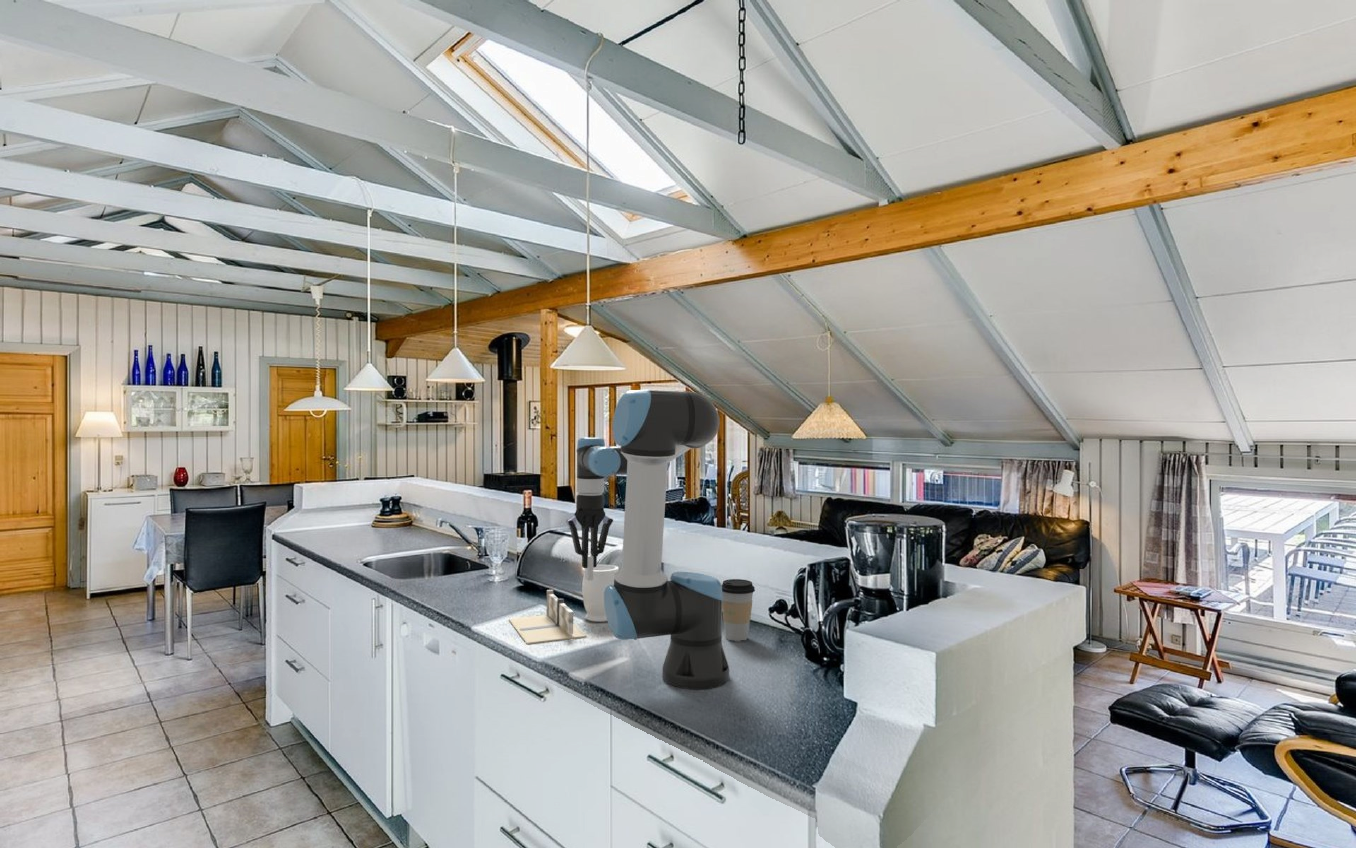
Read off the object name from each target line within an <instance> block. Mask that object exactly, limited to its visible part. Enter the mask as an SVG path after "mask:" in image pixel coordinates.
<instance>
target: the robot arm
mask: <svg viewBox="0 0 1356 848" xmlns="http://www.w3.org/2000/svg"><path fill="white" fill-rule="evenodd" d="M720 422H721V421H720V416H719V412H718V410H717V408H716V406H715V404H714V403H713V402H712V401H711V400H710V399H709V398H707V397H706V396H705V395H702V394H701V393H698V392H695V391H685V390H684V391H679V390H658V389H657V390H654V389H636V390H633V389H632V390H627V391H626V392H624V393H623V394H622V395H621V396H620V398H619V400H618V402H617V404H616V407H615V409H614V413H613V419H612V431H613V432H612V437H613V440H614V443H615V444H616V446H613V445H612V446H611V445H610V446H608V445H607V446H605V445H606V444H605V439H604V438H602V437H579V438H578V440H577V447H576V450H575V451H576V493H577V495H576V499H575V500H576V504H575V506H576V509H575V513H574V516H573V517H571V518H569V519H566V524H567V526H568V527H569V529H570V530H569V531H570V533H571V538H572V543H573V547H574V552H575V553H576V554H577V555H580V556H581V566H582V569H583V568H585V579H586V580H588V581H590V580H593V567H596V566H597V564H598V560H597V558H598V556H599V555H600V554H603V553H604V552H605V547H606V542H607V540H608V539H607V538H608V535H609V532H610V531H609V530H610V527H611V525H612V523H614V520H613V518H611V517H609V516H607V515H606V512H605V508H604V506H605V495H604V492H605V477H610V476H618V475H619V476H622V475H623V476H626V481H625V483H626V486H625V500H624V501H625V503H624V519H623V538H622V539H623V540H622V556H621V557H622V559H621V568H619V570H618V572H616V573H615V575H614V585H609V586H607V587H606V588H605V591H604V606H605V613H606V617H607V621H606V622H607V625H608V626H609V630H610V631H611V633H612V635H613V636H614V637H615V638H616V639H618V640H620V641H621V640H622V641H623V640H635V641H636V640H639V639H647V638H655V637H663V636H670V643H669V646H668V649H667V652H666V655H665V658H664V661H663V664H662V668H661V669H662V670H661V671H662V676H661V677H662V680H663V681H664V682H665V683H668V684H669V685H671V686H673V687H678V688H681V689H690V690H704V689H705V690H707V689H713V688H718V687H720V686H722V685H725V684H727V682H728V681H729V680H730V666H729V664H728V661H727V657H726V652H725V651H724V647H723V641H722V640H723V637H722V635H723V610H722V601H723V596H722V583H721V581H720V580H719V579H718V578H716V577H714V576H711V575H708V574H704V573H698V572H693V571H691V572H689V571H675V572H672V573H671V575H670V578H669V579H670V580H668V576H667V574H666V573H665V572H664V571H663V570H662V564H663V563H662V561H663V560H662V559H663V547H664V546H663V545H664V530H665V514H666V513H665V512H666V509H665V508H666V496H667V479H668V471H669V468H670V465H671V462H673V460H675V459H676V458H678V457H680V456H681V455H683V454H685V453H686V452H689V450H691V449H694V450H695V449H700V448H703V447H704V446H706V445H707V444H709V443H710V442H712V440H714V439H715V437H716V436H717V434H718V433H719V429H720ZM617 445H618V446H617ZM577 522H578V524H579V526H580V527H581V542H580V537H579V533H578V528H577ZM601 523H602V526H601V530H600V534H599V533H598V531H599V527H600V524H601ZM589 533H590V534H589ZM589 535H590V536H589ZM589 537H590V538H589ZM598 537H599V539H598ZM589 539H590V554H589Z"/></svg>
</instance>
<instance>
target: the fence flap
mask: <svg viewBox="0 0 1356 848" xmlns="http://www.w3.org/2000/svg"><path fill="white" fill-rule="evenodd" d="M573 623H574V611H573V610H572V609H571V608H570V607H569V606H567V604H566V603H565V599H564V598H558V599H557V624H559V625H560V626H561V627H562V628H563V629H564V630H565V631H566V632H567V633H568V634H569V635H571V634H573Z"/></svg>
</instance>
